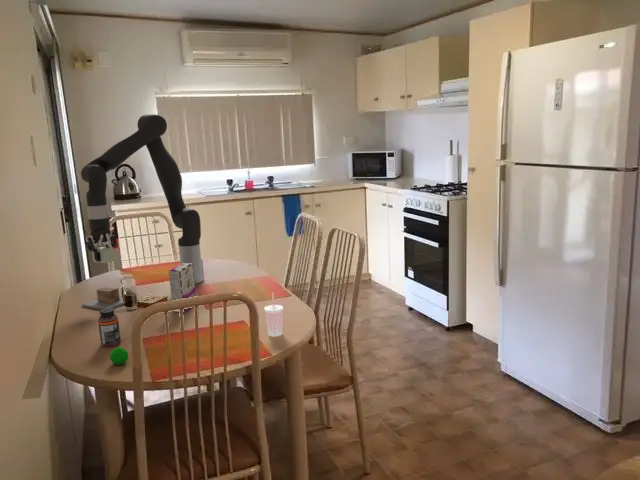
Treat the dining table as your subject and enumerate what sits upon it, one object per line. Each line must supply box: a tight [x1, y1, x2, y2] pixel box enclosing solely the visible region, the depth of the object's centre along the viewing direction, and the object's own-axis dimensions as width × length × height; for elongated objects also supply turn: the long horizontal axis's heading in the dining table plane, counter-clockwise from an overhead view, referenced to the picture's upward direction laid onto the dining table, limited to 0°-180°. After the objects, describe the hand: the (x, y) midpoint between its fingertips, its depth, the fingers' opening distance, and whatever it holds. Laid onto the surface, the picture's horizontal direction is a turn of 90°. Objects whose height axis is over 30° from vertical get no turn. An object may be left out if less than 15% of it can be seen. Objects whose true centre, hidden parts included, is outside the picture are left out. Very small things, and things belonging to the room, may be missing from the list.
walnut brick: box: [96, 286, 120, 304], centre depth 212 cm, size 4×7×5 cm, turn 64°
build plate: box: [81, 295, 124, 311], centre depth 213 cm, size 14×14×1 cm
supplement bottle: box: [97, 308, 122, 347], centre depth 169 cm, size 6×6×11 cm
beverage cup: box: [263, 292, 284, 338], centre depth 172 cm, size 6×6×14 cm
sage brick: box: [91, 246, 116, 264], centre depth 209 cm, size 4×7×5 cm, turn 61°
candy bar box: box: [168, 263, 197, 313], centre depth 202 cm, size 11×5×16 cm, turn 168°
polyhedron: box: [109, 347, 129, 366], centre depth 155 cm, size 5×5×5 cm
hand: (103, 259), depth 209 cm, fingers closed on sage brick, 4 cm apart
